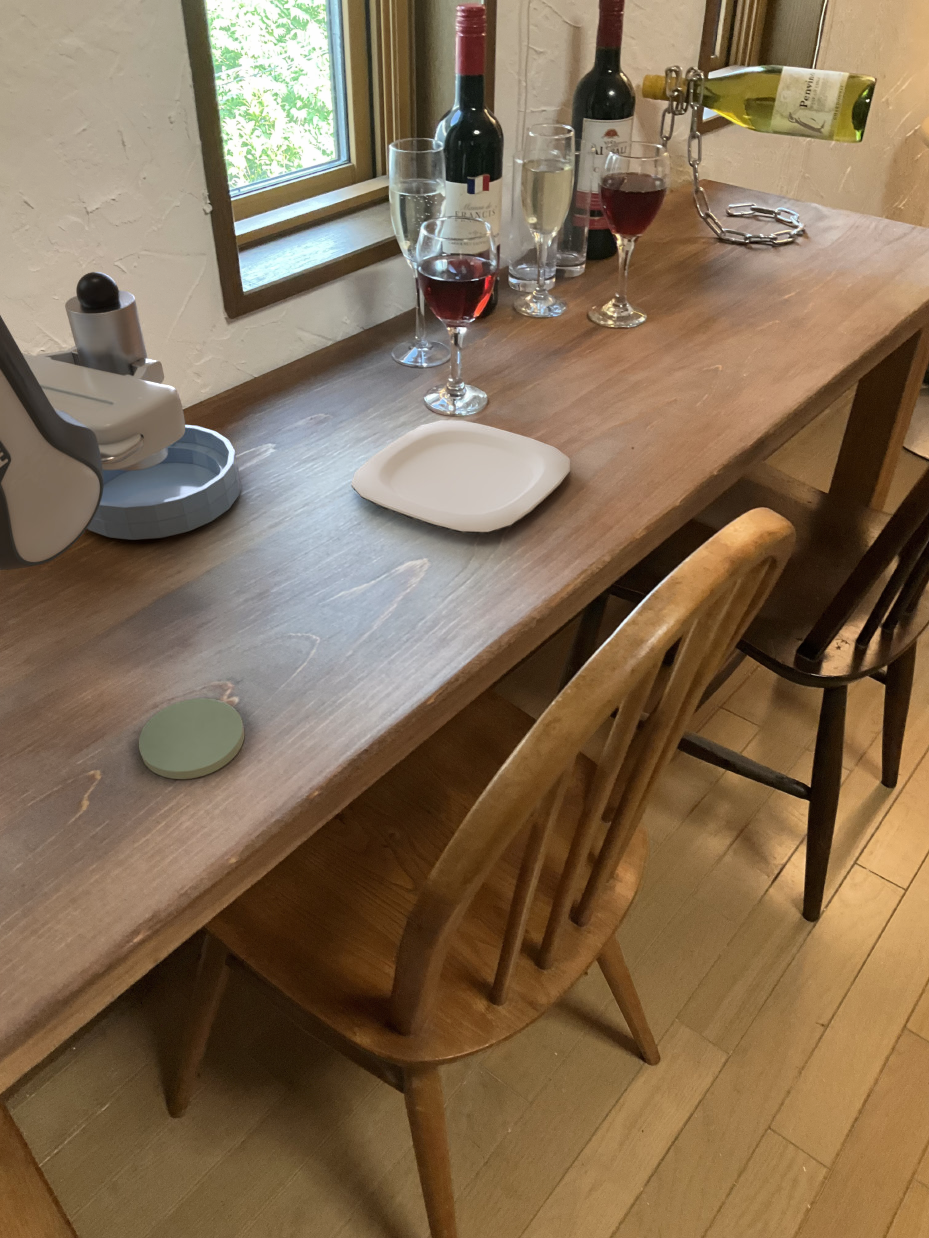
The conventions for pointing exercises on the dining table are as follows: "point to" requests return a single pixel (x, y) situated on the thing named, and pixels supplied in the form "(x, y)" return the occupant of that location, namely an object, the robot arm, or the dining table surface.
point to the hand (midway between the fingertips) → (122, 361)
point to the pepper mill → (108, 334)
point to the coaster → (191, 738)
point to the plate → (462, 476)
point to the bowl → (171, 490)
